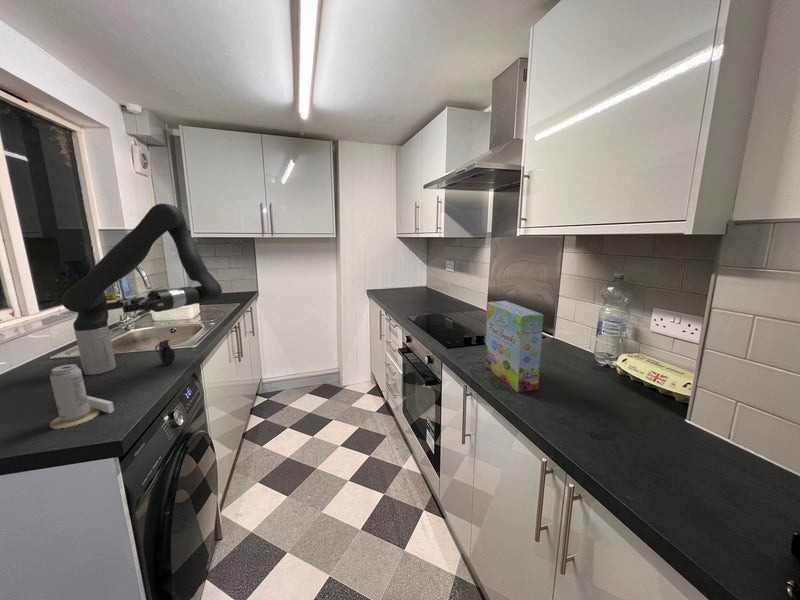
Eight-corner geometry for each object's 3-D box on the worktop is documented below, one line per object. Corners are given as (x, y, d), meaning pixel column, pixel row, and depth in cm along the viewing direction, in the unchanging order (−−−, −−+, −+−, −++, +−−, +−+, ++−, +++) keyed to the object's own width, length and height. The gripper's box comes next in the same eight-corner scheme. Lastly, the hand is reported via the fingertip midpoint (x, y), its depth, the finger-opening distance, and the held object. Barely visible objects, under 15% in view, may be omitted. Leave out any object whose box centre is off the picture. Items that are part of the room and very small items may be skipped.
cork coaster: (41, 425, 88) (41, 423, 88) (86, 406, 97) (86, 405, 97) (63, 432, 84) (63, 430, 84) (107, 412, 94) (107, 411, 93)
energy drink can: (68, 413, 92) (56, 365, 89) (94, 409, 94) (84, 361, 91) (55, 425, 87) (42, 373, 84) (83, 420, 89) (72, 370, 86)
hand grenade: (166, 368, 125) (162, 343, 123) (156, 367, 126) (152, 343, 124) (179, 362, 131) (175, 339, 129) (169, 361, 132) (165, 338, 130)
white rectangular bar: (66, 401, 100) (64, 393, 99) (71, 400, 101) (69, 391, 101) (109, 413, 93) (107, 403, 93) (114, 411, 94) (112, 401, 94)
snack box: (482, 367, 122) (485, 301, 117) (502, 364, 124) (506, 300, 119) (516, 393, 101) (521, 315, 96) (540, 390, 104) (546, 313, 99)
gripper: (152, 287, 116) (98, 294, 101) (180, 290, 112) (128, 298, 97) (154, 307, 118) (102, 317, 103) (182, 311, 113) (131, 322, 98)
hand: (114, 308), depth 100 cm, fingers open, 8 cm apart
